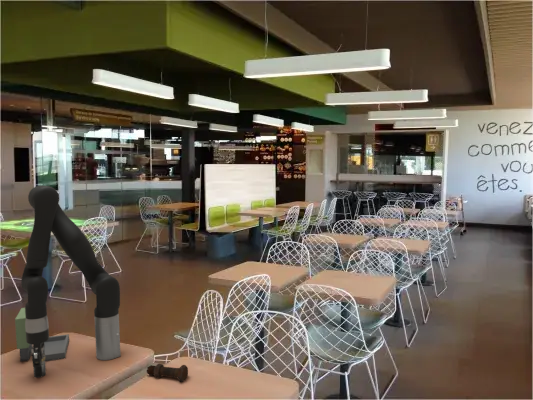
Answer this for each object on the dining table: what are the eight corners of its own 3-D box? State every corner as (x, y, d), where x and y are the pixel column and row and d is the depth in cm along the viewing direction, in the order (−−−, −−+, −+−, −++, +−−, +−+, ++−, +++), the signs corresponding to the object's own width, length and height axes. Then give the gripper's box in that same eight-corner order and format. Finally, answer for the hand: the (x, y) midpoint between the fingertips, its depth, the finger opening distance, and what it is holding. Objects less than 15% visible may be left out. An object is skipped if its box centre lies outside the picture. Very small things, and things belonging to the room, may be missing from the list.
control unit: (36, 348, 194) (33, 306, 193) (31, 362, 181) (28, 317, 180) (23, 349, 193) (20, 308, 191) (17, 364, 180) (14, 319, 178)
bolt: (150, 378, 171) (186, 382, 167) (143, 377, 167) (180, 381, 162) (153, 362, 174) (189, 365, 169) (146, 360, 169) (183, 364, 165)
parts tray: (69, 339, 203) (68, 334, 203) (65, 358, 184) (64, 352, 184) (41, 343, 200) (41, 337, 199) (34, 362, 181) (34, 356, 181)
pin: (46, 371, 173) (45, 353, 173) (45, 376, 169) (44, 358, 169) (34, 373, 172) (33, 355, 171) (32, 378, 168) (31, 360, 167)
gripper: (45, 334, 163) (48, 380, 165) (50, 320, 177) (53, 363, 178) (22, 336, 161) (25, 383, 163) (29, 322, 174) (31, 366, 176)
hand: (39, 372), depth 170 cm, fingers open, 4 cm apart
